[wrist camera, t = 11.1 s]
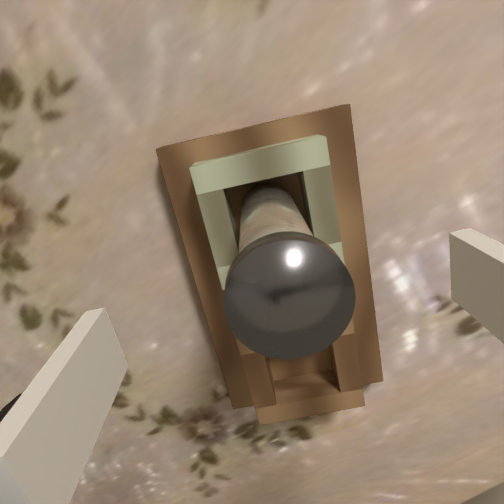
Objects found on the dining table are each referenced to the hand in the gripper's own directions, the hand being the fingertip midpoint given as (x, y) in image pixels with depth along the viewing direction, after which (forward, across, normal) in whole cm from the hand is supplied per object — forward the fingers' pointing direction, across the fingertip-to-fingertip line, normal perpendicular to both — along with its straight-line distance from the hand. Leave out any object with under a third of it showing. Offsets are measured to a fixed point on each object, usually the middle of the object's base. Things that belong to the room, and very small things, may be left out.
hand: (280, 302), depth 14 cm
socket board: (+17, +1, -6) cm, 18 cm away
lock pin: (+15, +1, 0) cm, 15 cm away
